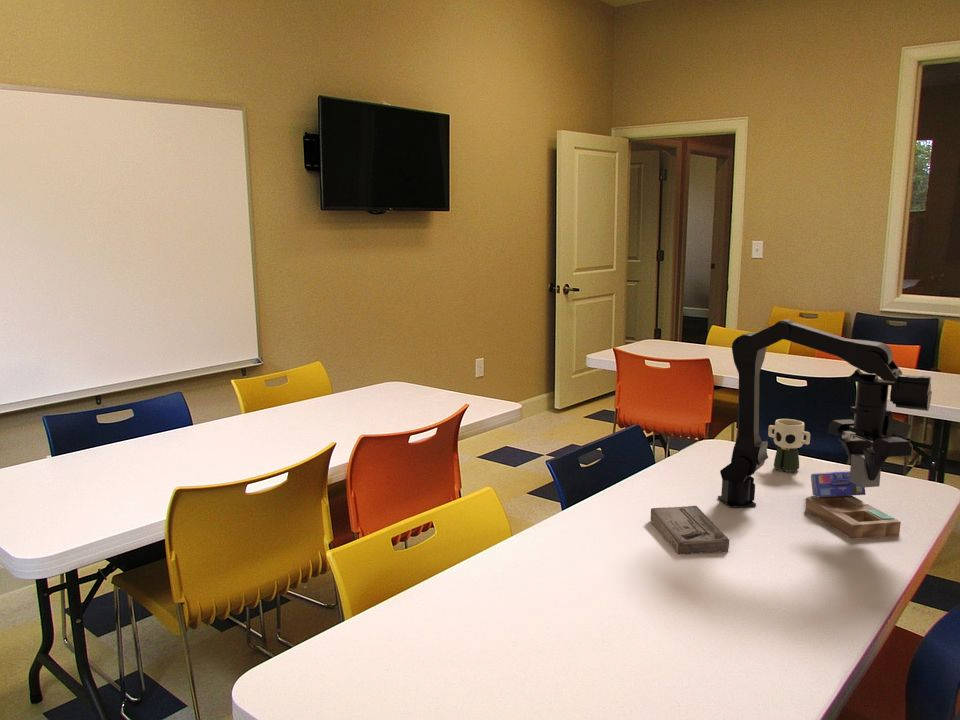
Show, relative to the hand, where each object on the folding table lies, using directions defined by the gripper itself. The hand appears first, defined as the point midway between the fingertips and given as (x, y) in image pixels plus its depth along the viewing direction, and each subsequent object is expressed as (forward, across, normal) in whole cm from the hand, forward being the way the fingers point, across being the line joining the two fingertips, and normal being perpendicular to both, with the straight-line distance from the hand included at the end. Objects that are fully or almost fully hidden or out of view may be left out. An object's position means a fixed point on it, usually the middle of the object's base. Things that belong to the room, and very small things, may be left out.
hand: (864, 476), depth 155 cm
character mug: (+12, +39, -7) cm, 41 cm away
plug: (+2, 0, 0) cm, 2 cm away
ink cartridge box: (+8, +19, -7) cm, 22 cm away
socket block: (+12, +4, 0) cm, 12 cm away
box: (+12, +3, +38) cm, 40 cm away
